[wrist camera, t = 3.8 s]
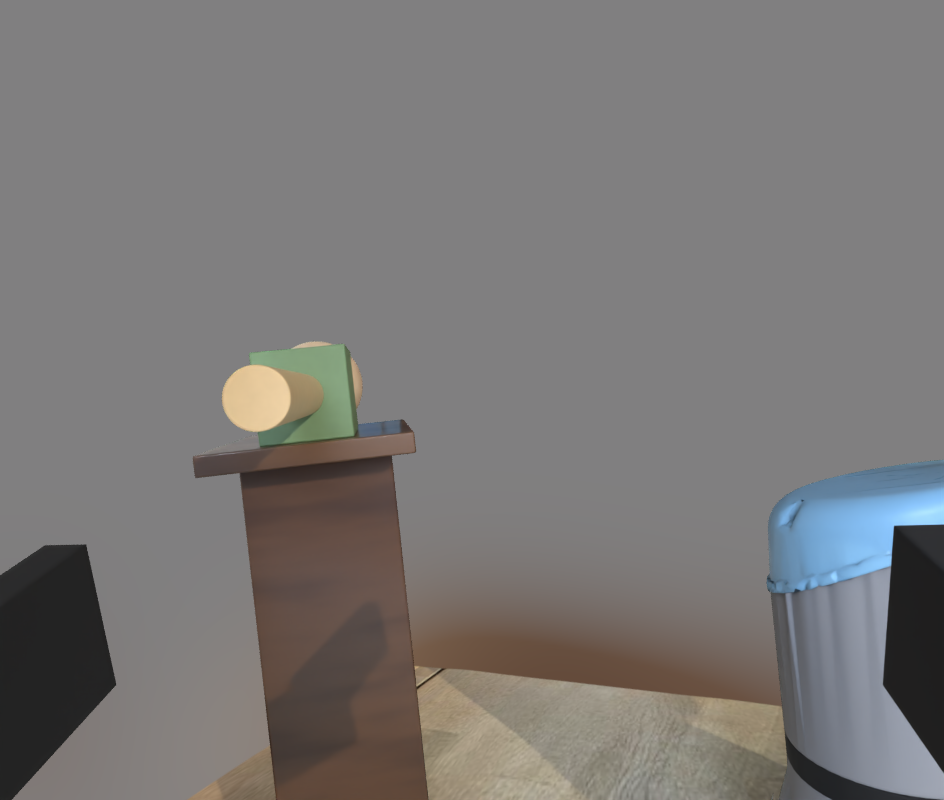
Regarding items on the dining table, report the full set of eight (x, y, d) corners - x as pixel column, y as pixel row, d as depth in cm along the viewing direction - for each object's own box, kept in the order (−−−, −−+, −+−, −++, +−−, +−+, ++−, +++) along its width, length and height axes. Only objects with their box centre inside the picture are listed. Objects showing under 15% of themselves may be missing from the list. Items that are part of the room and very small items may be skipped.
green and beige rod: (355, 462, 20) (336, 285, 20) (171, 483, 20) (150, 301, 20) (367, 424, 43) (358, 340, 42) (282, 433, 42) (272, 348, 42)
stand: (292, 912, 44) (239, 437, 43) (461, 880, 45) (412, 418, 44) (256, 1130, 31) (179, 457, 30) (494, 1078, 32) (425, 430, 31)
